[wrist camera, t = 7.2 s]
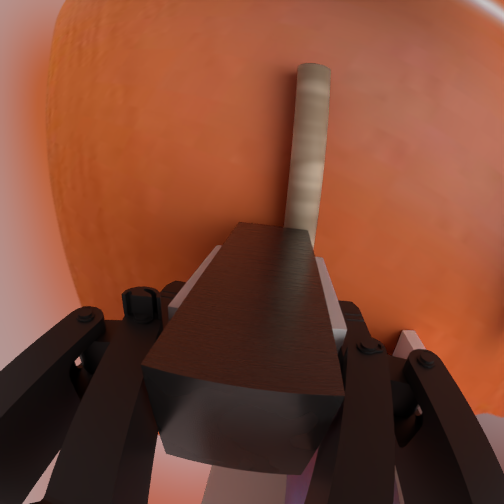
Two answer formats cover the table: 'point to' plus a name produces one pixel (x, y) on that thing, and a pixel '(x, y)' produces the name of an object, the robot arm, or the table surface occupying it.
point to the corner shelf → (274, 485)
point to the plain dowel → (308, 148)
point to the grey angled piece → (249, 358)
